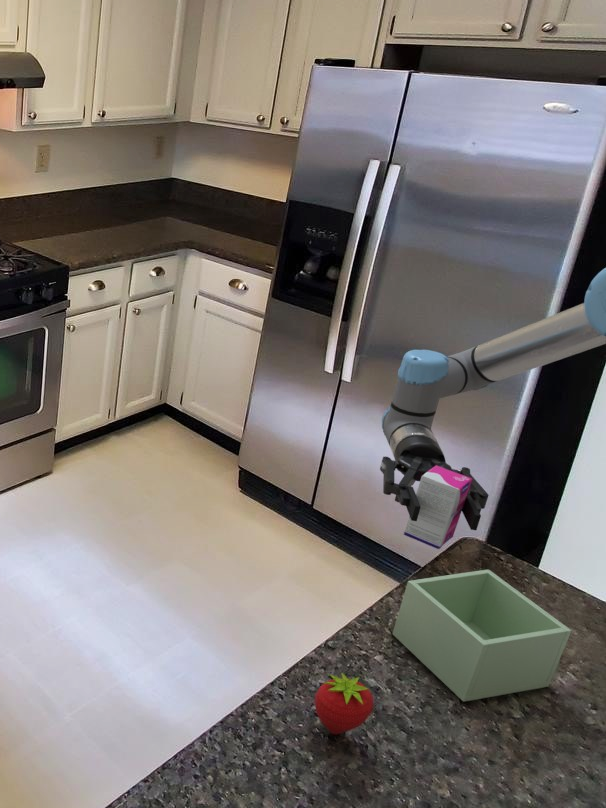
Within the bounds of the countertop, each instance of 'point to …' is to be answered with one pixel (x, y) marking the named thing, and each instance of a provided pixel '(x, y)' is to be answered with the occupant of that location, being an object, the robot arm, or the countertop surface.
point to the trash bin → (480, 634)
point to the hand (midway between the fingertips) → (445, 518)
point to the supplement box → (438, 506)
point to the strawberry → (343, 704)
